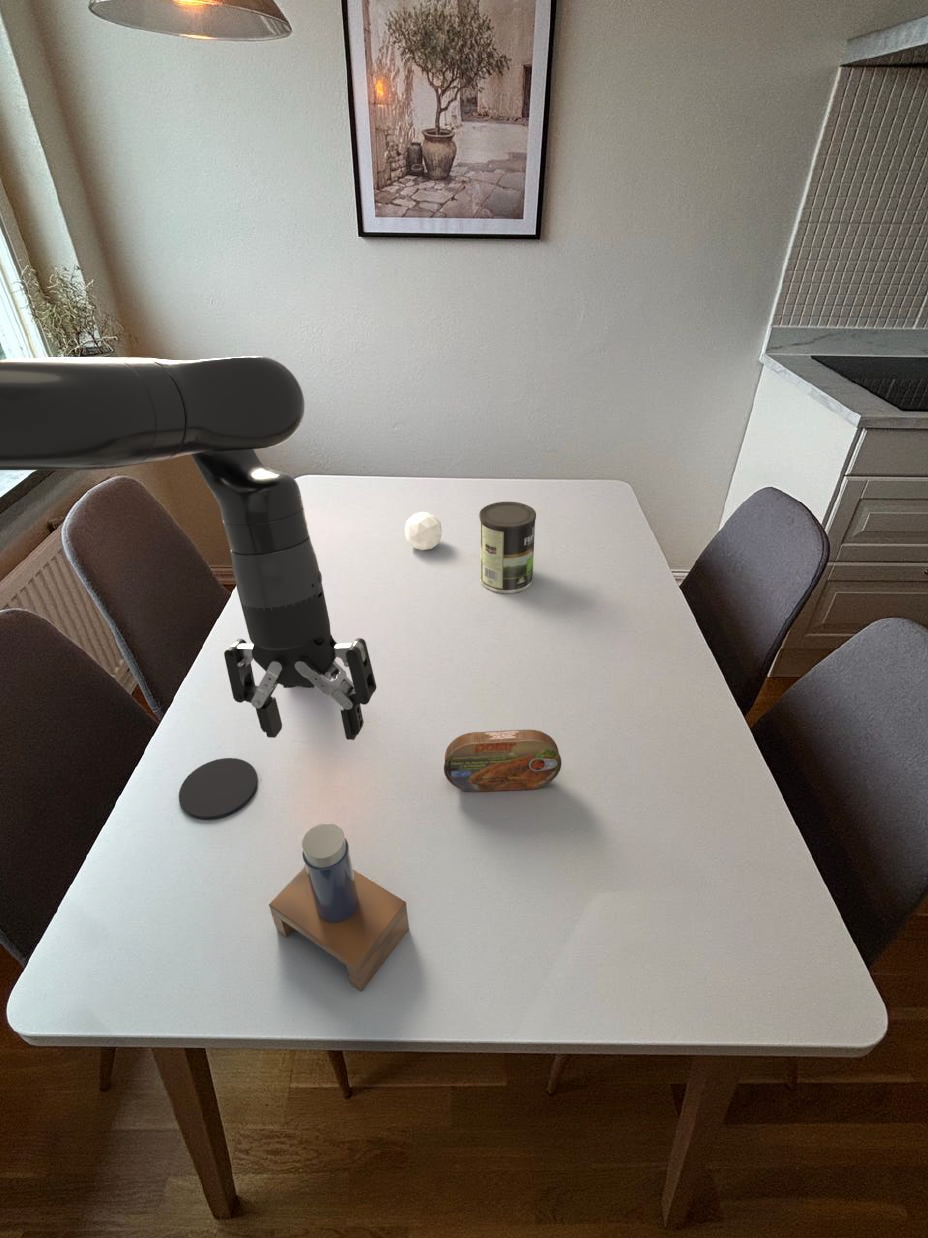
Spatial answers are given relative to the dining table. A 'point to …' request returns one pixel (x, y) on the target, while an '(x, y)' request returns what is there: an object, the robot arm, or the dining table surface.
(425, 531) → the geometric ball
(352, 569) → the dining table surface
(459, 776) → the tin
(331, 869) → the cylinder
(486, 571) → the coffee can
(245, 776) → the mat
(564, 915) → the dining table surface
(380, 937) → the shelf
